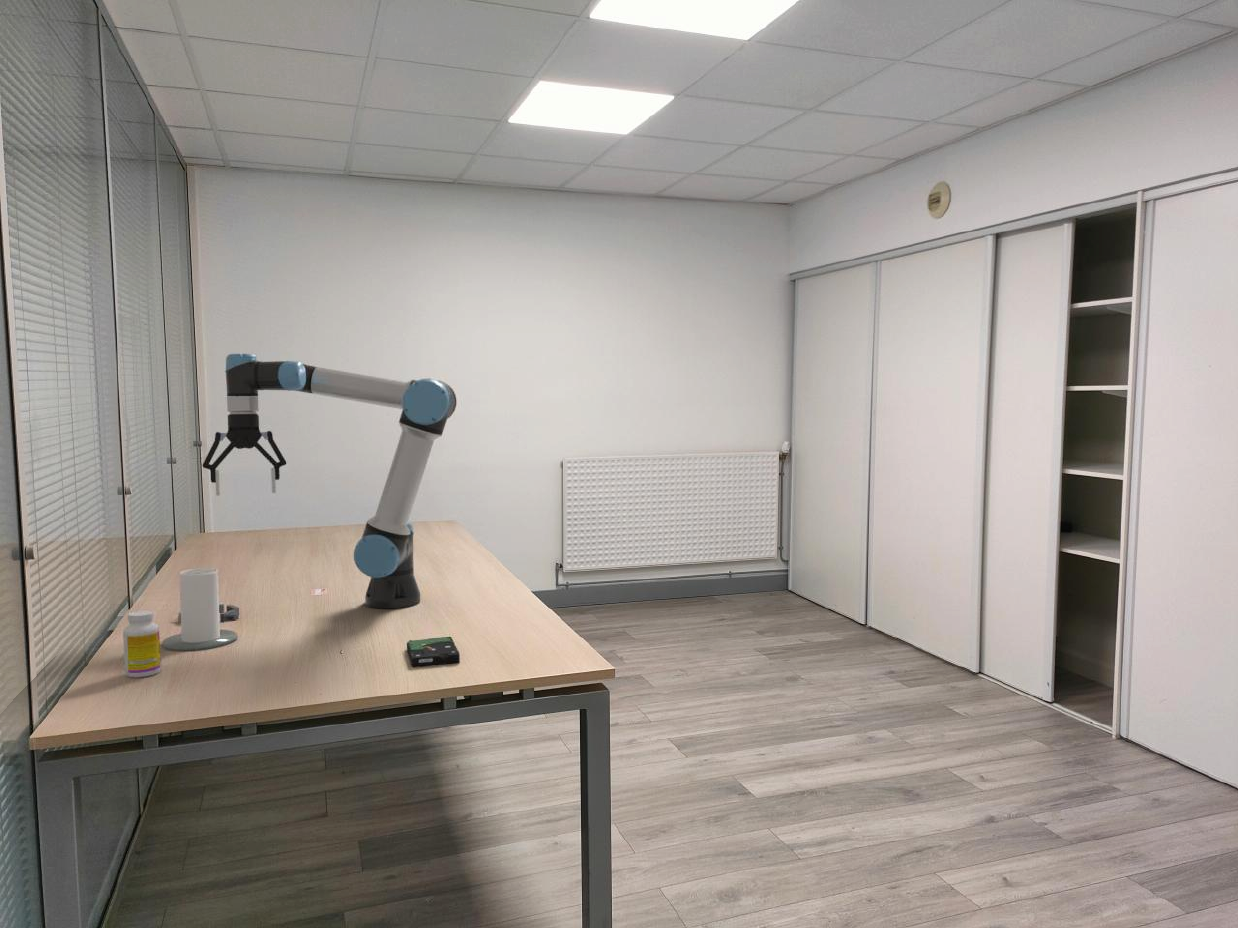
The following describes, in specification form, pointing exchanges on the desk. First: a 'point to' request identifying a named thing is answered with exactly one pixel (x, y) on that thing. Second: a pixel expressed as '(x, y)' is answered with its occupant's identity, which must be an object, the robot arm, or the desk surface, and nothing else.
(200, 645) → the coaster
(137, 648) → the supplement bottle
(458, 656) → the disk drive
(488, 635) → the desk surface
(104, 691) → the desk surface
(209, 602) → the cup
